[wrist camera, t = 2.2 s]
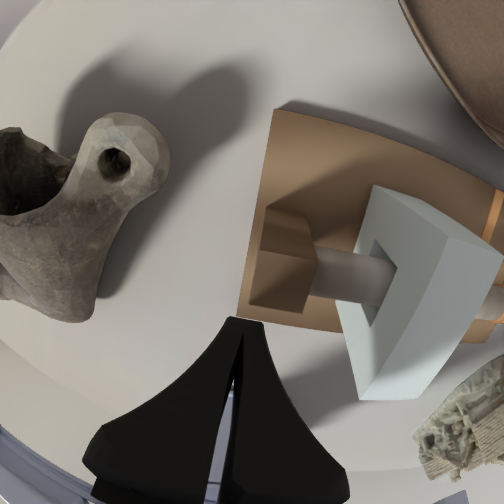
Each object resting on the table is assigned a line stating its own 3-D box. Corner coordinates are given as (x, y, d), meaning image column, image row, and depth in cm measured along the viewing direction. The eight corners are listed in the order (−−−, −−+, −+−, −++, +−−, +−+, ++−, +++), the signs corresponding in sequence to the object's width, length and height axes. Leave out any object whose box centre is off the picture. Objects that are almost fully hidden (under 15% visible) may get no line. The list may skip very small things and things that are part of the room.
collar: (379, 308, 15) (416, 398, 9) (335, 301, 15) (359, 400, 9) (420, 199, 12) (504, 256, 6) (373, 184, 12) (448, 236, 6)
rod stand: (479, 336, 18) (509, 383, 12) (238, 306, 18) (221, 382, 12) (534, 214, 12) (584, 246, 7) (274, 110, 13) (272, 93, 7)
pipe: (157, 220, 24) (157, 63, 12) (180, 311, 21) (186, 158, 8) (7, 255, 18) (-66, 137, 6) (7, 346, 15) (-116, 258, 2)
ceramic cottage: (517, 340, 18) (563, 444, 4) (499, 398, 23) (522, 473, 10) (402, 403, 23) (419, 525, 10) (414, 441, 29) (423, 521, 16)
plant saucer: (523, -3, 4) (542, -8, 1) (549, 173, 11) (572, 183, 8) (349, -83, 5) (357, -105, 2) (386, 130, 13) (410, 132, 10)
